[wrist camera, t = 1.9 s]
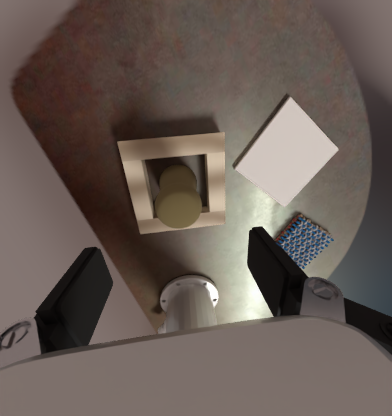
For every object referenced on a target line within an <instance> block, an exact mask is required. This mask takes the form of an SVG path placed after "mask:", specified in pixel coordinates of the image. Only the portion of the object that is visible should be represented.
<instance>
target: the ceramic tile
mask: <svg viewBox="0 0 392 416" xmlns="http://www.w3.org/2000/svg"><path fill="white" fill-rule="evenodd" d="M338 150H339V149H338V148H337V147H336V146H335V145H334V144H333V143H332V142H331V140H330V139H329V138H328V137H327V136H326V135H325V134H324V133H323V132H322V131H321V130H320V128H319V127H318V126H317V125H316V124H315V123H314V122H313V121H312V120H311V119H310V118H309V116H308V115H307V114H306V113H305V112H304V111H303V110H302V109H301V108H300V107H299V106H298V104H297V103H296V102H295V101H294V100H293V99H292V98H291V97H289V98H287V100H286V101H285V102H284V104H283V105H282V106H281V108H280V109H279V110H278V111H277V113H276V114H275V115H274V117H273V118H272V119H271V121H270V122H269V123H268V125H267V126H266V127H265V128H264V130H263V131H262V132H261V134H260V135H259V136H258V138H257V139H256V140H255V141H254V143H253V144H252V145H251V147H250V148H249V149H248V151H247V152H246V153H245V155H244V156H243V157H242V158H241V160H240V161H239V162H238V164H237V165H236V166H235V168H234V169H235V170H236V171H238V172H239V173H240V174H241V175H243V176H244V177H245V178H247V179H248V180H249V181H251V182H252V183H253V184H255V185H256V186H257V187H258V188H260V189H261V190H262V191H264V192H265V193H266V194H268V195H269V196H270V197H271V198H273V199H274V200H275V201H277V202H278V203H279V204H281V205H282V206H283V207H285V206H286V205H287V204H288V203H289V202H290V201H291V200H292V199H293V198H294V197H295V196H296V195H297V194H298V193H299V192H300V190H301V189H302V188H303V187H304V186H305V185H306V184H307V183H308V182H309V181H310V180H311V179H312V178H313V177H314V175H315V174H316V173H317V172H318V171H319V170H320V169H321V168H322V167H323V166H324V165H325V164H326V163H327V162H328V161H329V159H330V158H331V157H332V156H333V155H334V154H335V153H336V152H337V151H338Z"/></svg>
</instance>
